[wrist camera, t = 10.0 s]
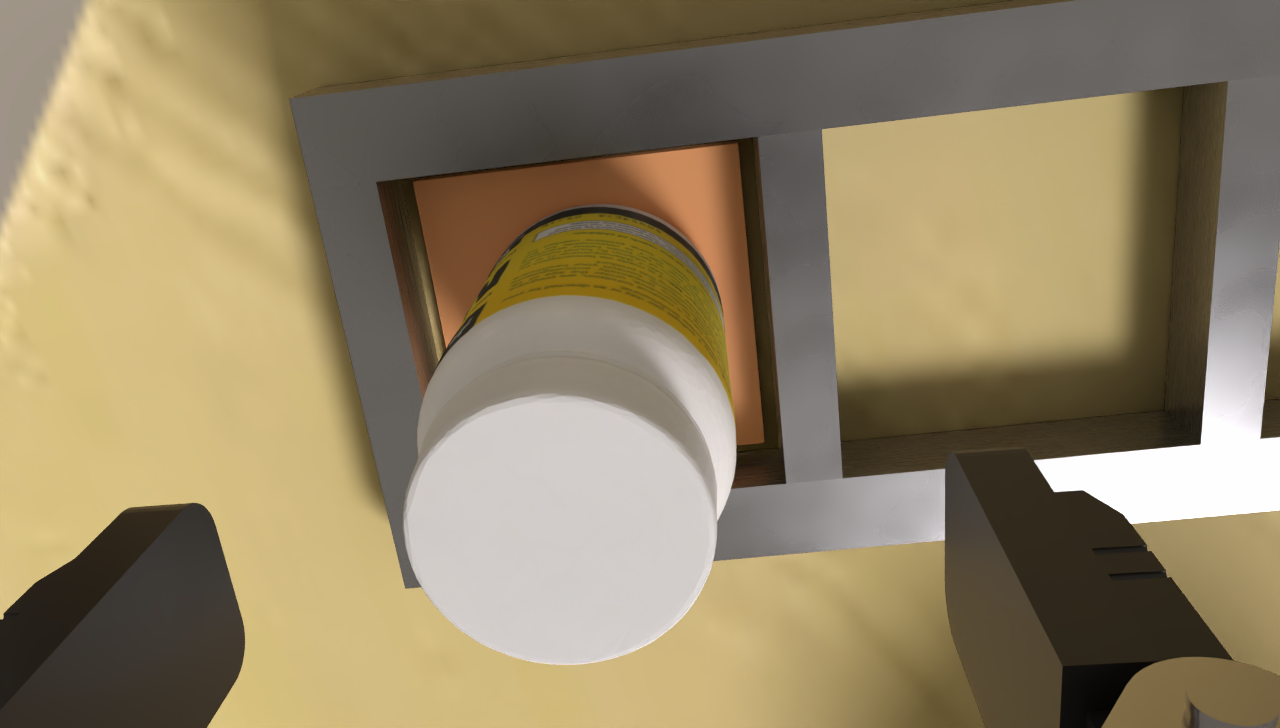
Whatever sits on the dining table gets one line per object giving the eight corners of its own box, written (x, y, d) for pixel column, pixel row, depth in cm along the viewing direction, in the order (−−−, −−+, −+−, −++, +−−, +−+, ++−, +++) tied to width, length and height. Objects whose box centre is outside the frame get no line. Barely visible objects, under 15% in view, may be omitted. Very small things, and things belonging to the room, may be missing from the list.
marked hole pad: (736, 140, 20) (737, 143, 20) (763, 436, 22) (764, 442, 22) (416, 178, 20) (412, 181, 20) (473, 464, 23) (470, 471, 22)
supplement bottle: (488, 188, 20) (368, 339, 12) (735, 210, 20) (772, 374, 12) (482, 417, 22) (372, 677, 14) (709, 437, 22) (727, 708, 14)
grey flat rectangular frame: (1740, -91, 18) (1836, -95, 17) (1618, 437, 22) (1687, 473, 20) (317, 87, 20) (289, 98, 18) (422, 548, 23) (405, 588, 22)
